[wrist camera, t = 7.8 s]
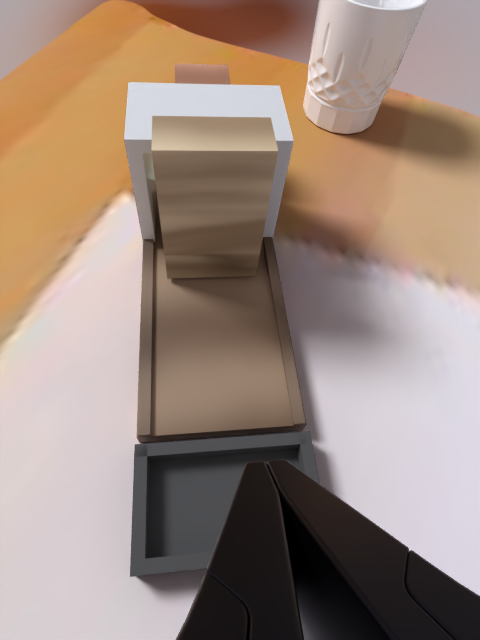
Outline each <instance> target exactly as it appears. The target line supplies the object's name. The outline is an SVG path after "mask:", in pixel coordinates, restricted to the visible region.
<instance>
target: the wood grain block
mask: <svg viewBox="0 0 480 640" xmlns="http://www.w3.org/2000/svg"><path fill="white" fill-rule="evenodd" d="M175 83H179V84H222V85H231V84H230V78H229V71H228V65H209V64H175ZM151 151H152V159H153V167H154V175H155V183H156V191H157V199H158V207H159V215H160V223H161V231H162V239H163V248H164V256H165V264H166V272H167V279H169V278H202V277H235V276H256V272H257V267H258V261H259V256H260V250H261V244H262V239H263V233H264V228H265V222H266V216H267V211H268V205H269V200H270V194H271V189H272V183H273V177H274V172H275V166H276V161H277V155H278V148H277V143H276V139H275V134H274V130H273V125H272V121H271V117H202V116H152V147H151Z"/></svg>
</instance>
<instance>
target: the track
mask: <svg viewBox="0 0 480 640" xmlns="http://www.w3.org/2000/svg"><path fill="white" fill-rule="evenodd" d="M152 160H153V159H152ZM153 168H154V167H153ZM154 176H155V175H154ZM155 184H156V183H155ZM305 426H306V421H305V415H304V410H303V404H302V399H301V393H300V388H299V382H298V377H297V371H296V366H295V360H294V355H293V349H292V344H291V338H290V333H289V327H288V321H287V316H286V310H285V305H284V299H283V294H282V288H281V283H280V277H279V272H278V266H277V261H276V255H275V250H274V244H273V240H272V237H263V240H262V244H261V250H260V256H259V261H258V267H257V272H256V276H235V277H202V278H169V279H167V272H166V264H165V256H164V248H163V239H162V231H161V223H160V215H159V207H158V199H157V191H156V231H155V242H154V240H153V239H144V242H143V263H142V293H141V323H140V353H139V383H138V413H137V439H138V441H139V442H151V441H164V440H177V439H190V438H204V437H217V436H230V435H244V434H257V433H270V432H284V431H297V430H303V428H304V427H305Z"/></svg>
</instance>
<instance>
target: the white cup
mask: <svg viewBox="0 0 480 640" xmlns="http://www.w3.org/2000/svg"><path fill="white" fill-rule="evenodd" d="M427 1H428V0H319V4H318V10H317V17H316V22H315V28H314V34H313V40H312V46H311V56H310V61H309V67H308V82H307V87H306V92H305V98H304V103H303V108H304V111H305V114H306V117H307V118H308V119H309V120H311V121H312V122H313V123H314V124H315V125H316V126H318V127H320V128H323V129H325V130H327V131H330V132H334V133H341V134H352V133H358V132H362V131H364V130H365V129H367V128H368V127H369V126H371V125H372V123H373V121H374V119H375V116H376V114H377V111H378V109H379V107H380V104H381V102H382V100H383V98H384V96H385V95H386V93H387V92H388V89H389V87H390V85H391V82H392V81H393V78H394V76H395V74H396V72H397V70H398V68H399V65H400V63H401V61H402V58H403V56H404V54H405V51H406V49H407V47H408V44H409V42H410V40H411V37H412V35H413V33H414V31H415V28H416V26H417V24H418V21H419V19H420V17H421V15H422V12H423V10H424V8H425V5H426V3H427Z"/></svg>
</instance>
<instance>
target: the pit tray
mask: <svg viewBox="0 0 480 640" xmlns="http://www.w3.org/2000/svg"><path fill="white" fill-rule="evenodd" d="M282 459H284V460H287V461H288V462H290V463H291V464H292V465H294V466H295V467H297V468H298V469H299V470H301V471H302V472H304V473H305V474H306V475H308V476H309V477H310V478H312V479H313V480H315V481H316V482H317V483H319V478H318V473H317V467H316V462H315V456H314V451H313V445H312V440H311V435H310V431H308V432H295V433H281V434H268V435H255V436H242V437H228V438H215V439H202V440H189V441H176V442H162V443H149V444H136V445H135V454H134V482H133V510H132V539H131V567H130V577H132V576H141V575H150V574H159V573H168V572H177V571H186V570H195V569H204V568H207V566H208V563H209V560H210V558H211V555H212V552H213V550H214V547H215V544H216V542H217V539H218V536H219V534H220V531H221V528H222V525H223V523H224V520H225V517H226V515H227V512H228V509H229V507H230V504H231V501H232V499H233V496H234V493H235V491H236V488H237V485H238V483H239V480H240V477H241V475H242V472H243V469H244V466H245V464H246V463H248V462H258V461H264V462H265V463H267V461H270V460H282ZM319 484H320V483H319Z"/></svg>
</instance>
